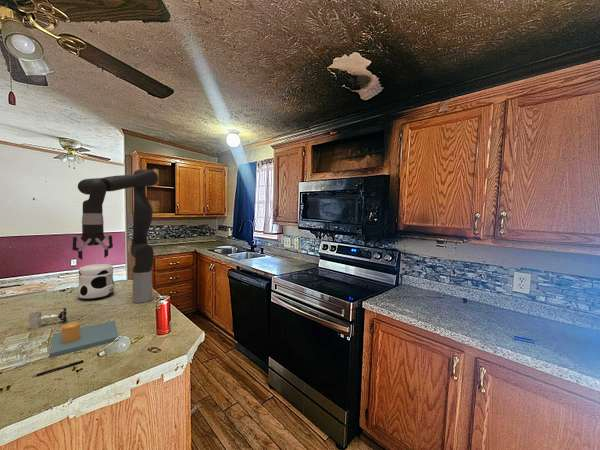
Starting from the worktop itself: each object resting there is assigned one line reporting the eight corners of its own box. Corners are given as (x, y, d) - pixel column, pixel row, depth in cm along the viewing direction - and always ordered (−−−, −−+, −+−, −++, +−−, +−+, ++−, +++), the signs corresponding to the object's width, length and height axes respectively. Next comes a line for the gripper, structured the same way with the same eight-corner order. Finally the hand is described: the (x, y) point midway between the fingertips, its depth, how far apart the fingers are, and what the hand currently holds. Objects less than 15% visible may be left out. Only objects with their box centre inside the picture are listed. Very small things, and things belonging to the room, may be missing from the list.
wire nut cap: (80, 334, 102) (79, 320, 102) (79, 340, 99) (79, 325, 98) (62, 338, 99) (62, 324, 99) (61, 344, 95) (61, 329, 95)
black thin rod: (32, 379, 79) (32, 375, 79) (32, 377, 79) (32, 374, 79) (83, 363, 87) (83, 360, 87) (83, 362, 88) (83, 359, 88)
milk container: (76, 295, 149) (76, 265, 148) (112, 289, 161) (112, 262, 160) (77, 304, 137) (77, 271, 136) (116, 297, 148) (116, 267, 147)
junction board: (114, 323, 116) (114, 320, 116) (118, 340, 102) (118, 336, 102) (54, 337, 103) (53, 333, 103) (49, 357, 89) (49, 353, 89)
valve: (27, 331, 106) (66, 324, 114) (27, 316, 106) (65, 309, 114) (29, 326, 111) (66, 319, 119) (29, 311, 111) (66, 305, 119)
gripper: (111, 222, 122) (112, 255, 123) (72, 222, 113) (73, 258, 114) (113, 223, 116) (113, 258, 117) (71, 224, 107) (72, 261, 108)
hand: (93, 258), depth 116 cm, fingers open, 8 cm apart
